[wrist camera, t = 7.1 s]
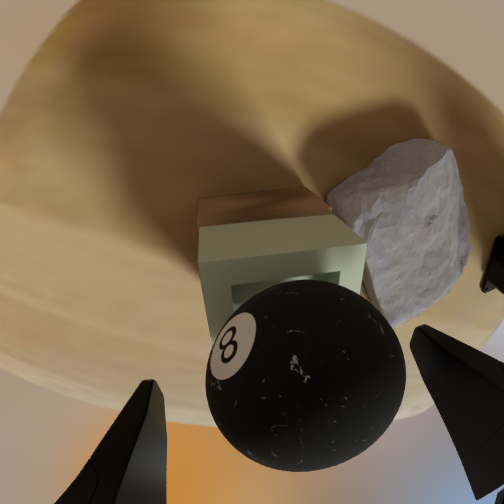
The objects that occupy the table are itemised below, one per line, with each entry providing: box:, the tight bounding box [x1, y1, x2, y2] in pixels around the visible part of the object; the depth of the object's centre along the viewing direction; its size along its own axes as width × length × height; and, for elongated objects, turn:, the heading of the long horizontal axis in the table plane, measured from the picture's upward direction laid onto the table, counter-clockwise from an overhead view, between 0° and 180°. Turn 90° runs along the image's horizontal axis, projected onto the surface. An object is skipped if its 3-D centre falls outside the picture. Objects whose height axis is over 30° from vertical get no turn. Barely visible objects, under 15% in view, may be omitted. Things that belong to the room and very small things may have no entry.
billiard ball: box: [205, 279, 406, 472], centre depth 8 cm, size 6×6×6 cm
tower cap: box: [198, 214, 367, 346], centre depth 12 cm, size 6×6×3 cm
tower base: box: [196, 187, 332, 236], centre depth 15 cm, size 6×6×4 cm
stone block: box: [326, 138, 471, 329], centre depth 17 cm, size 12×5×10 cm
